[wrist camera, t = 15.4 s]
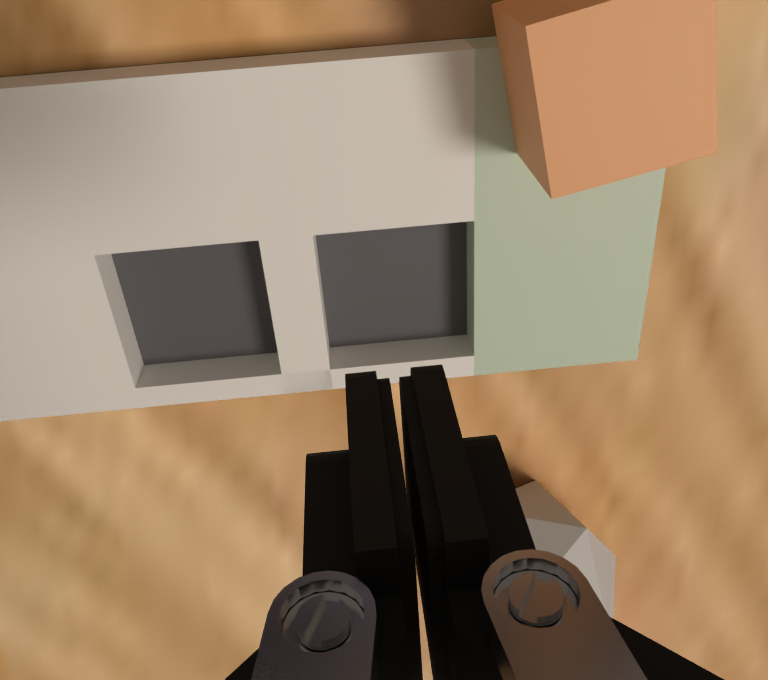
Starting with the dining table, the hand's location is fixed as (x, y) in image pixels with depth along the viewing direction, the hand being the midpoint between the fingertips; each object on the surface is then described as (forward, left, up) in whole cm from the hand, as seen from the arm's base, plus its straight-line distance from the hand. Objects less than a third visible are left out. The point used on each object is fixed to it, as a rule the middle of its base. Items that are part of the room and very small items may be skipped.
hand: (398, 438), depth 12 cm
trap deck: (-3, +3, -17) cm, 18 cm away
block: (+3, -8, -15) cm, 17 cm away
